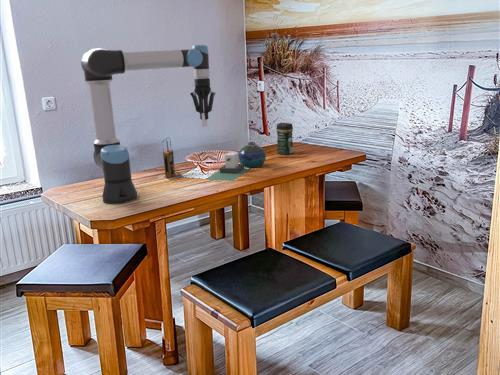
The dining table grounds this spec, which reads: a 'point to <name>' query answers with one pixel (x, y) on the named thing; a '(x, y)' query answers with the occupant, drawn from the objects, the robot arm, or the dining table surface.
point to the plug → (231, 160)
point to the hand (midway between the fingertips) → (204, 126)
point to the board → (228, 173)
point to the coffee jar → (284, 138)
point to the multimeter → (169, 162)
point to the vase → (252, 155)
